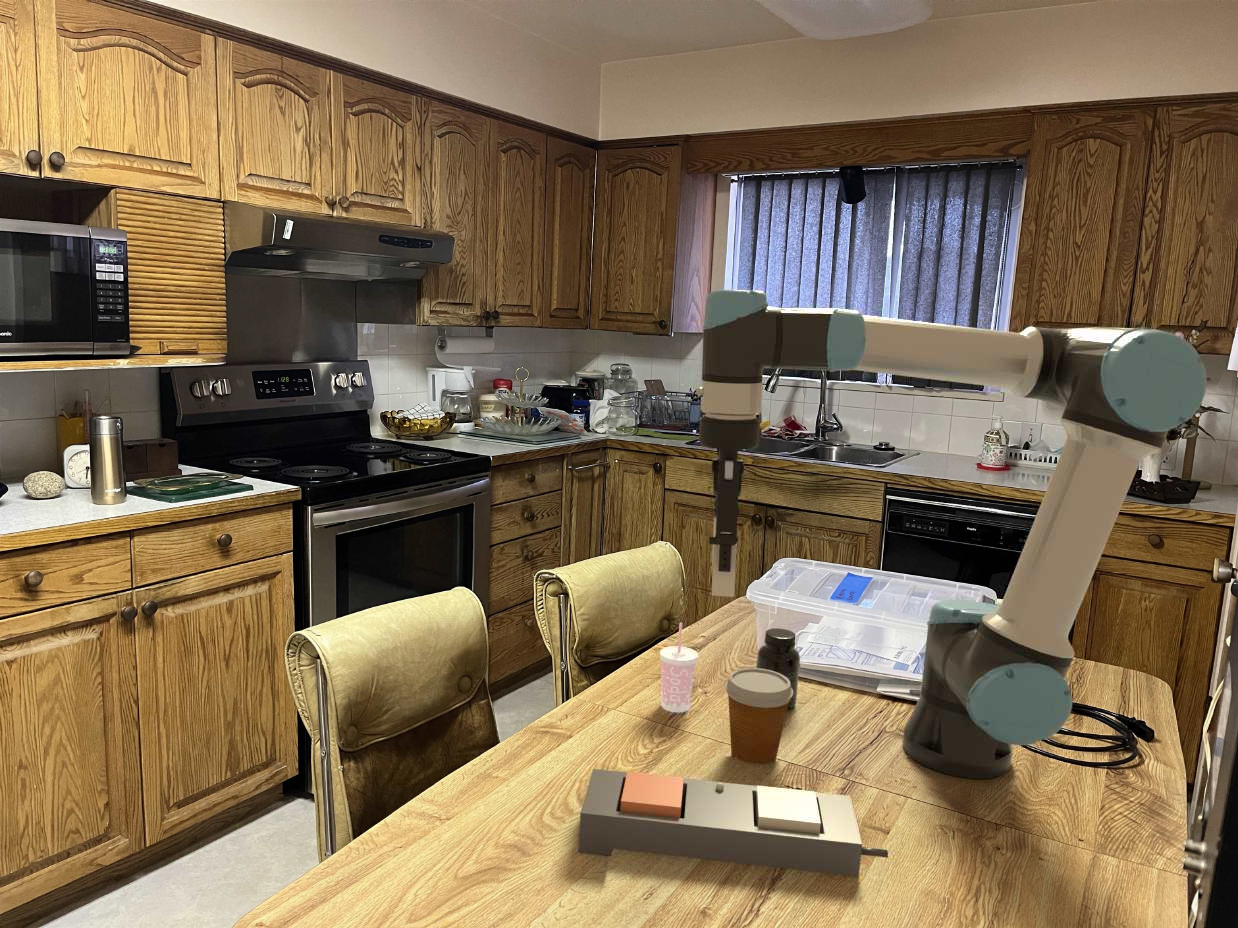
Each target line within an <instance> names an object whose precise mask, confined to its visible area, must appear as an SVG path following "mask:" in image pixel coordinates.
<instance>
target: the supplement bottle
mask: <svg viewBox="0 0 1238 928" xmlns="http://www.w3.org/2000/svg"><path fill="white" fill-rule="evenodd" d="M764 636H765V637H764V644H763V645H762V646H761V647H760V648H759V649H758V651H757V656H756V667H755V668H760V669H766V670H771V671H774V672H777V673H780V674H782V675H784V676H785V677H787V678H788V679H789V681H790V684H791V688H792V689H793V696H792V697H791V699H790V701H789V703H788V708H787V711H789V710H792V709H794V707H795V706H796V704H797V694H798V688H799V687H798V686H799V685H798V684H799V674H800V664H801V656H800V653H799V651H798V650H797V649H795V646H796V634H795V632H793V631H792V630H788V629H784V628H778V627H777V628H775V627H774V628H769V629H767V630H765V635H764Z"/></svg>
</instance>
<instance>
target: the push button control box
mask: <svg viewBox="0 0 1238 928" xmlns="http://www.w3.org/2000/svg"><path fill="white" fill-rule="evenodd" d="M626 776H627V771H617V770H608V769H600V768H593V769H592V771H591V775H590V779H589V782H588V785H587V789H586V793H585V795H584V800H583V801H582V802H583V803H582V806H581V810H580V814H579V830H578V832H579V833H578V835H579V837H578V853H584V854H591V855H598V856H599V855H600V856H607V857H608V856H609V857H612V855H613V851H614V850H621V851H631V852H639V853H647V854H656V855H657V854H658V855H664V856H665V855H666V856H672V857H673V856H674V857H682V858H690V859H691V858H692V859H699V860H707V861H708V860H709V861H710V860H711V861H716V862H726V863H735V864H742V865H743V864H744V865H751V866H753V865H754V866H761V867H771V868H777V869H779V868H780V869H786V870H787V869H788V870H796V871H803V872H805V871H806V872H811V873H813V872H814V873H819V874H820V873H823V874H830V875H837V876H838V875H839V876H847V877H856V878H858V877H860V867H861V861H862V860H861V858H862V855H865V856H877V857H884V858H888V857H889V851H888V849H884V848H883V849H882V848H875V847H866V846H865V847H864V846H863V843H862V838H861V834H860V830H859V826H858V823H857V822H858V821H857V819H856V814H855V811H854V805H853V802H852V798H851V795H847V794H846V795H844V794H834V793H828V792H827V793H826V792H816V791H814V792H815V794H816V800H817V805H818V811H819V817H820V822H821V825H820V834H819V833H809V832H800V831H791V830H782V829H773V828H764V827H755V826H754V816H755V804H756V792H757V786H758V785H751V784H742V783H741V784H740V783H732V782H724V781H723V782H721V781H712V780H705V779H704V780H703V779H695V778H694V779H693V778H685V777H684V780H683V795H682V809H681V814H684V818H682V817H681V818H674V817H665V816H655V815H646V814H637V813H628V812H620V810H621V799H622V794H623V789H624V785H625V780H626Z"/></svg>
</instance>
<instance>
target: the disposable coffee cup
mask: <svg viewBox="0 0 1238 928" xmlns="http://www.w3.org/2000/svg"><path fill="white" fill-rule="evenodd" d="M725 690H726V693H727V695H728V699H727V700H728V713H729V714H728V715H729V733H730V753H731V756H730V757H731V758H736V759H738V760H740V761H742V762H746V763H749V764H755V765H762V764H763V765H764V764H768V763H771V762H777V761H776V760H777V756H778V752H779V748H780V743H781V738H782V733H783V728H784V725H785V720H786V715H787V712H788V710H787V708H788V703H789V701H790V699H791V697H792V696H793V689H792V688H791V684H790V681H789V679H788V678H787V677H785V676H784V675H782V674H780V673H777V672H774V671H771V670H766V669H760V668H756V667H745V668H739V669H737V670H734V671H732V672H730V674H729V676H728V679H727V681H726V682H725Z"/></svg>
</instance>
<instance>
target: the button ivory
mask: <svg viewBox="0 0 1238 928" xmlns="http://www.w3.org/2000/svg"><path fill="white" fill-rule="evenodd" d="M756 786H757V792H756V804H755V816H754V826H755V827H764V828H773V829H782V830H791V831H800V832H809V833H819V834H820V825H821V822H820V817H819V811H818V805H817V800H816V794H815V792H816V791H811V790H802V789H794V788H793V789H792V788H784V787H773V786H765V785H756Z"/></svg>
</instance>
